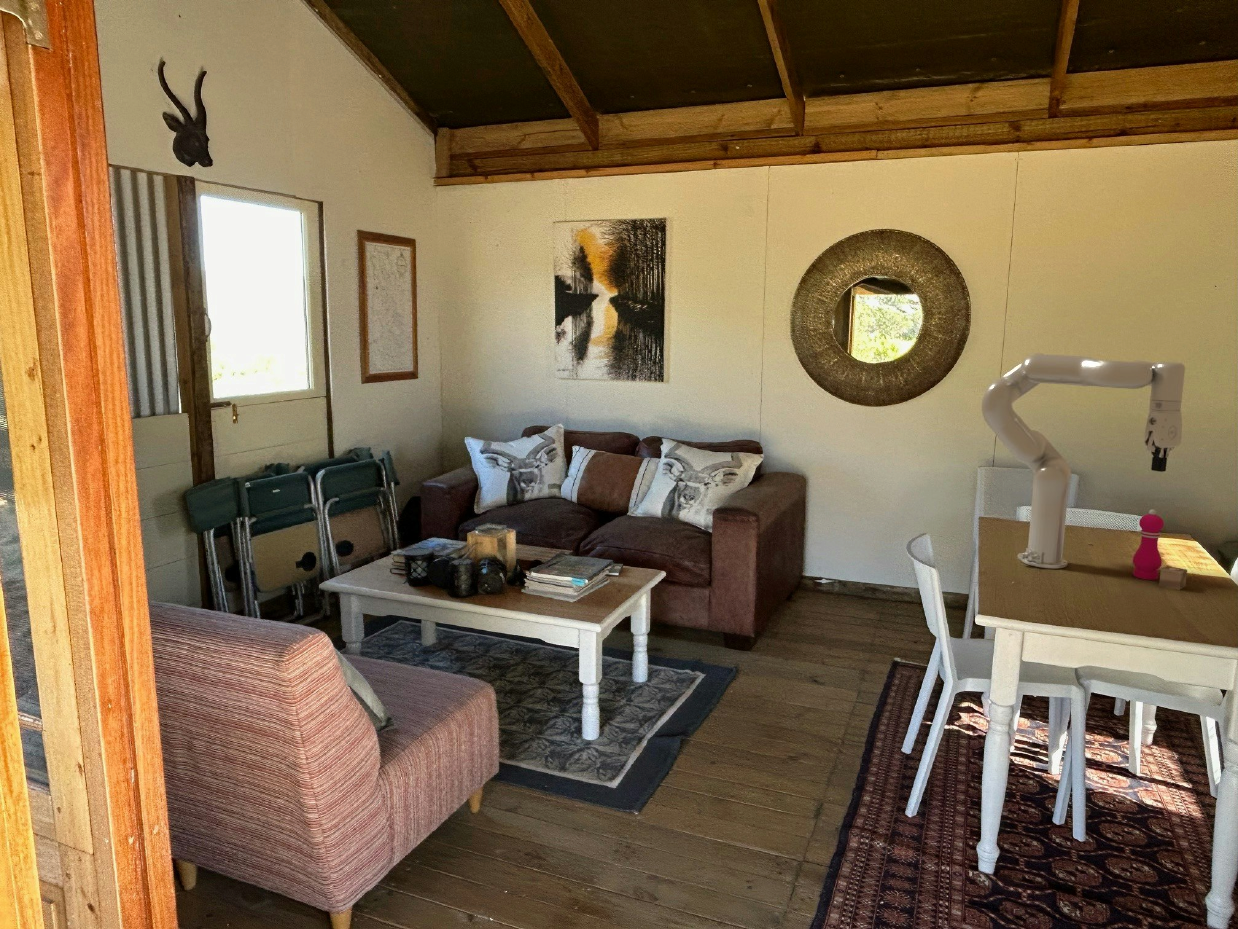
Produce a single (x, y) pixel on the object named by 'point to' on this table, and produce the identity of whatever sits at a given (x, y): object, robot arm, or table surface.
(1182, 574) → the walnut block
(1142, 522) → the pepper mill
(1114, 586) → the table surface
